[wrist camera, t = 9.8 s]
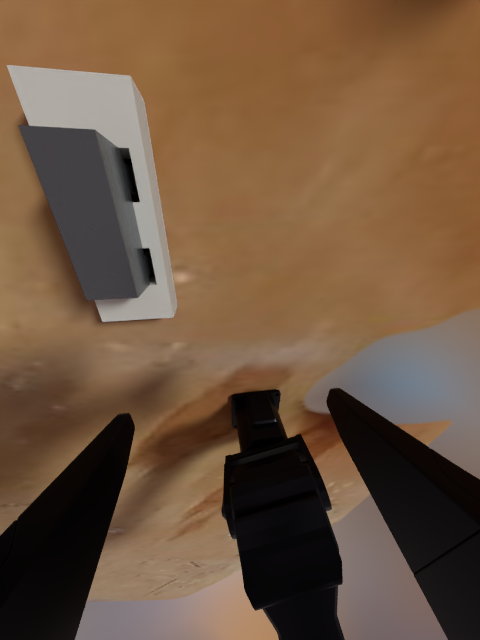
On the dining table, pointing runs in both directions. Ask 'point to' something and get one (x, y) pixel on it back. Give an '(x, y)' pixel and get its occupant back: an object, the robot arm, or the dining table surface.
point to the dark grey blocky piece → (92, 208)
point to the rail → (134, 141)
